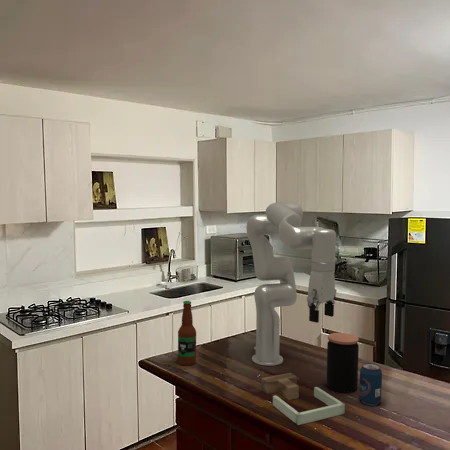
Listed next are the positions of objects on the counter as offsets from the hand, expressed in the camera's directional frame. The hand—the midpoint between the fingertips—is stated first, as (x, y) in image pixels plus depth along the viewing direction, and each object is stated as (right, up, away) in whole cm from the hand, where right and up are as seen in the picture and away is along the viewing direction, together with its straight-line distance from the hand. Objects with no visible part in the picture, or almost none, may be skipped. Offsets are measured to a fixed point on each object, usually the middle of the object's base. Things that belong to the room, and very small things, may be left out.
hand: (321, 318), depth 149 cm
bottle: (-47, -25, +34) cm, 63 cm away
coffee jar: (+10, -27, +12) cm, 31 cm away
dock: (-5, -28, -5) cm, 29 cm away
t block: (-11, -27, +7) cm, 30 cm away
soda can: (+16, -28, +1) cm, 32 cm away
